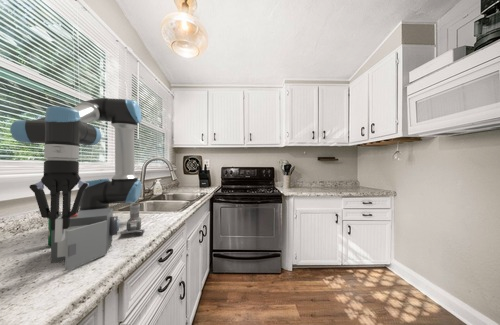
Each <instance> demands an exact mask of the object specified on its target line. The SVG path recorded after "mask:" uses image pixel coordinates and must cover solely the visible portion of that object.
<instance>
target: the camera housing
mask: <svg viewBox="0 0 500 325" xmlns="http://www.w3.org/2000/svg"><path fill="white" fill-rule="evenodd" d="M70 212H71V210H70ZM113 214H114V208H113V207H109V208H107V209H94V210H82V211H80V210H79V211H78V213H77V214H75V215H73V216H70V226H69V228H67V229H65V239H64V240H63V241H62V242H55V230H52V231H51V246H50V264H54V263H55V264H56V263H61V262H65V255H66V231H68V230H72V229H75V228H79V227H83V226H87V225H91V224H95V223H98V222H102V221H104V220H107V253H106V255H107V254H108V252H109V249H110V247H111V245H112V242H113V236H117V235H118V232H119V231H120V219H119V217H118V215H115V216H114V215H113ZM59 217H62V215H61V216H59ZM59 217H58V218H59Z"/></svg>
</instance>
